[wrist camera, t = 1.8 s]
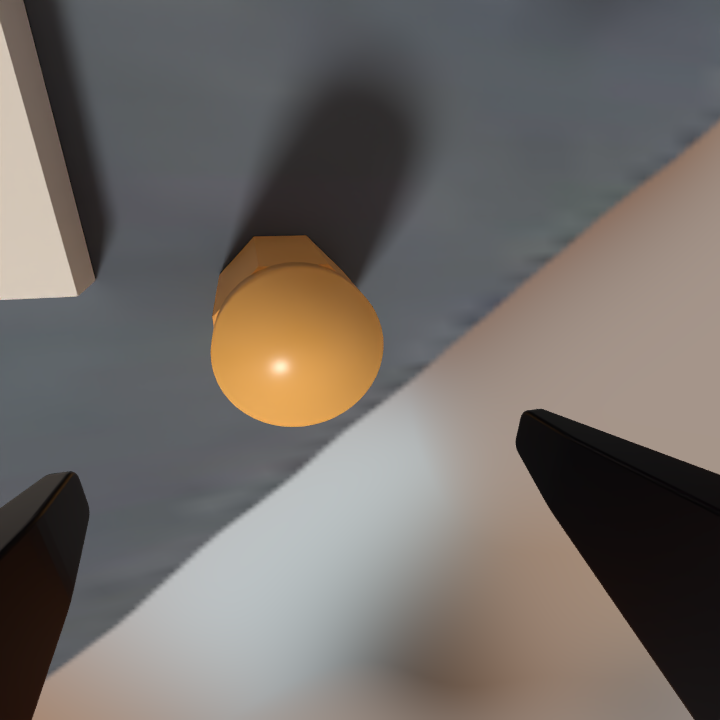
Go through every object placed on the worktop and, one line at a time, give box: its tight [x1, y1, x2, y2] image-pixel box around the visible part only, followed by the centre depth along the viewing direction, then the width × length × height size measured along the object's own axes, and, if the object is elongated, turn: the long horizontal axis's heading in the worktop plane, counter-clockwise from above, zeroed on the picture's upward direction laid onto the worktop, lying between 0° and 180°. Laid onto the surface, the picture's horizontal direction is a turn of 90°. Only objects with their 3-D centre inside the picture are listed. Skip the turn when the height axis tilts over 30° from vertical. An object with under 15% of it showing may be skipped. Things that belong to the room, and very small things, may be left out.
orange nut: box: [211, 235, 383, 427], centre depth 15 cm, size 5×5×6 cm
